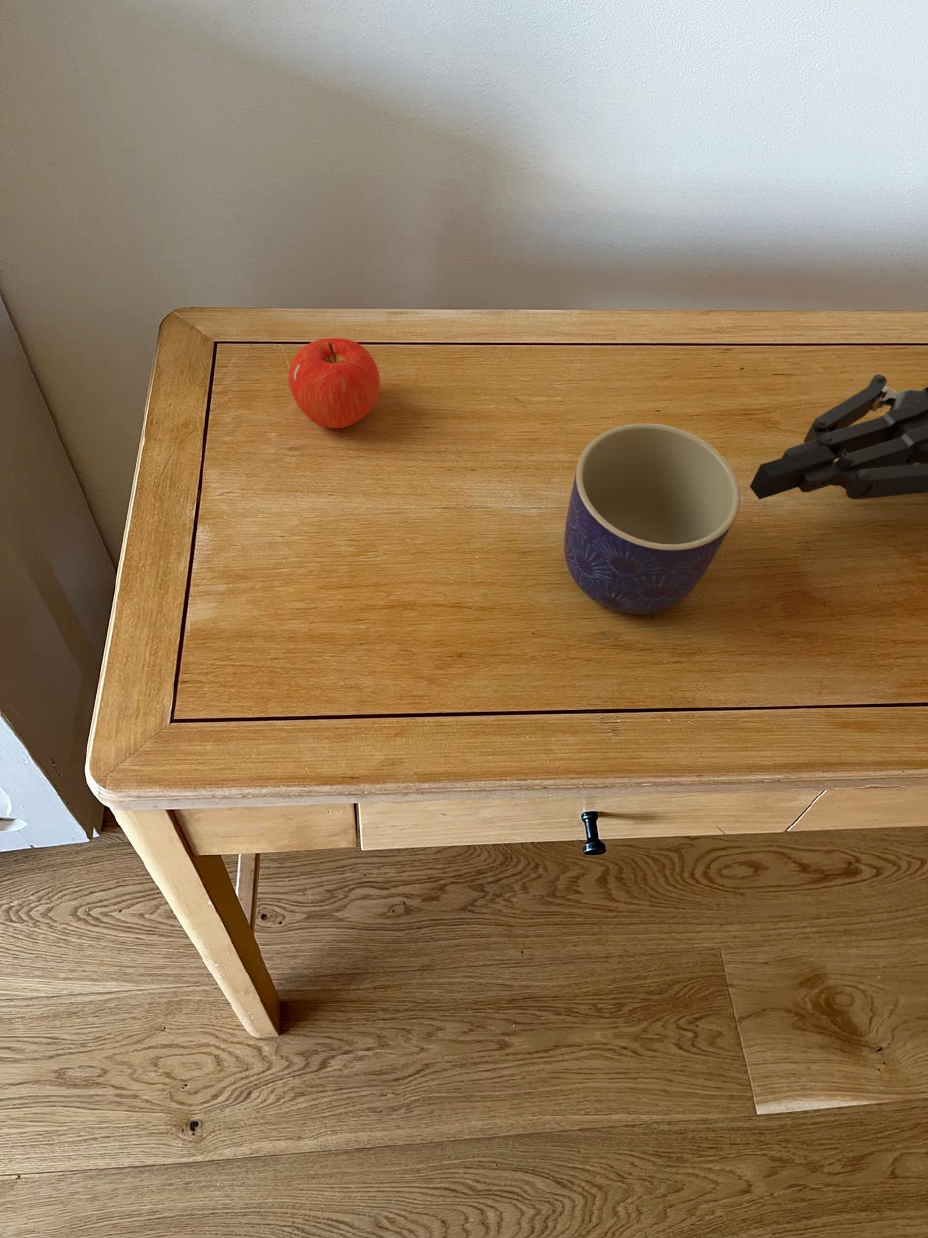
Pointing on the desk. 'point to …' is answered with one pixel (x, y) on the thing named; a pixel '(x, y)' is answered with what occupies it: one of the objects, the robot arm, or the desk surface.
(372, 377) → the apple
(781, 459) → the robot arm
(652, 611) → the planter
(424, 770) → the desk surface
